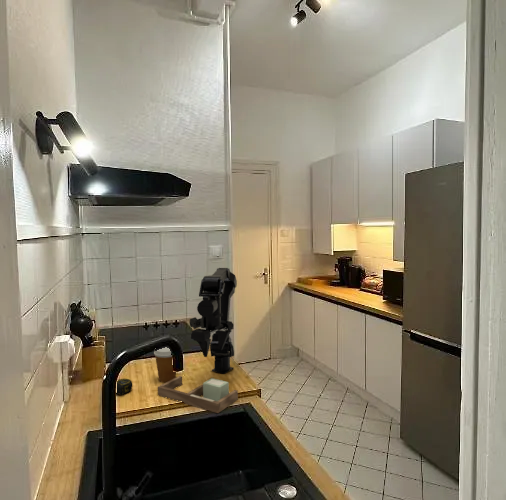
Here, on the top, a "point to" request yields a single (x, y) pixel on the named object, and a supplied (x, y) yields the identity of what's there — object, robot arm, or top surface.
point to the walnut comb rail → (195, 396)
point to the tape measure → (124, 386)
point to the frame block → (215, 389)
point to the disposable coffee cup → (164, 365)
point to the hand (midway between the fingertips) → (213, 353)
